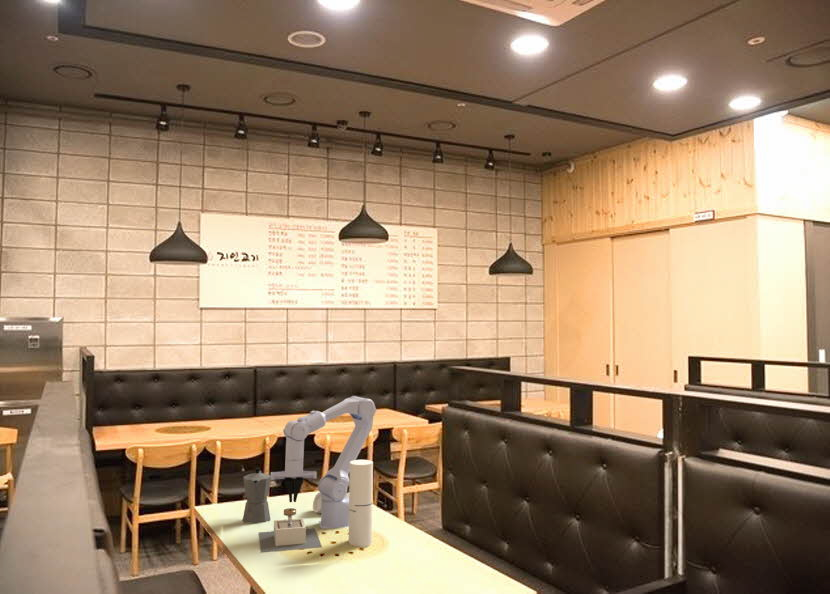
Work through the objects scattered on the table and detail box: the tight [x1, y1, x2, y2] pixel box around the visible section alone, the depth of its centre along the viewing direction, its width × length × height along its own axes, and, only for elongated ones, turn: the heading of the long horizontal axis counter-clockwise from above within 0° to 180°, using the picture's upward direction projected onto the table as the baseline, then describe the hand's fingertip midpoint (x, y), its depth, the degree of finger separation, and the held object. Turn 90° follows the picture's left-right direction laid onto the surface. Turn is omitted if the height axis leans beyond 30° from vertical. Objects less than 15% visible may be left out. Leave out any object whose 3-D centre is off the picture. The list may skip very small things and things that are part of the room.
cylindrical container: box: [348, 459, 374, 548], centre depth 200 cm, size 7×7×25 cm
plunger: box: [278, 507, 301, 529], centre depth 201 cm, size 6×6×5 cm
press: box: [273, 518, 307, 546], centre depth 201 cm, size 9×9×5 cm
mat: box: [258, 527, 323, 554], centre depth 201 cm, size 18×18×1 cm
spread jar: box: [312, 485, 350, 514], centre depth 233 cm, size 12×11×12 cm
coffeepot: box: [242, 467, 272, 524], centre depth 222 cm, size 15×9×18 cm, turn 8°
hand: (292, 501), depth 208 cm, fingers closed
